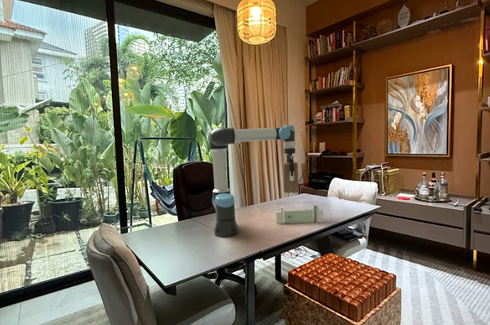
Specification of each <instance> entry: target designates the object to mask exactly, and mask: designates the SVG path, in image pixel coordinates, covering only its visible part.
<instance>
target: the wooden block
mask: <svg viewBox="0 0 490 325" xmlns="http://www.w3.org/2000/svg"><path fill="white" fill-rule="evenodd" d="M289 170H290V165H289V163H287V162H283V163H282V182H283V183H282V184H283V186H282V188H283V192H284V193H285V194H286V193H288V194H289V193H295V194H297V193H298V192H299V163H298V162H296V161H295V162H294V181H290V171H289Z"/></svg>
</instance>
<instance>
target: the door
mask: <svg viewBox="0 0 490 325" xmlns="http://www.w3.org/2000/svg"><path fill="white" fill-rule="evenodd" d="M283 222H284V224H292V223H293V224H294V223H295V224H296V223H314V209H299V210H298V209H297V210H295V209H294V210H293V209H292V210H283Z"/></svg>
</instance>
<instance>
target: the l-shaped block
mask: <svg viewBox="0 0 490 325" xmlns="http://www.w3.org/2000/svg"><path fill="white" fill-rule="evenodd" d="M319 206H320V205H313V223H323V222H324V210H323V209H319ZM279 208H280V210H279V211H278V210H277V211H275V224H276V225H279V224H281V225H282V224H285V223H284V207H283V206H280V207H279Z"/></svg>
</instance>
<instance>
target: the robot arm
mask: <svg viewBox="0 0 490 325" xmlns="http://www.w3.org/2000/svg"><path fill="white" fill-rule="evenodd" d="M295 135H296V131H295V126H294V125H291V124H287V125H283V126H281V127H264V128H243V129H242V128H240V129H235V128H234V127H220V126H219V127H215V128H212V130H210V132H209V133H208V136H207V139H208V144H209V150H210V151H211V153H212V168H213V169H212V170H213V171H212V172H213V181H214V182H213V184H214V185H213V186H214V189H213V190H212V199H211V203H212V205H213V208H214V209H215V216H216V217H215V219H216V221H215V225H214V229H213V234H215V235H214V236H216V237H219V236H220V237H219V238H228V237H229V238H230V237H234V236H237V235H238V234H239V233H240V232H239V230H240V228H239V225H238V223H237V221H236V204H235V202H236V200H235V195H233V194H231V188H228V171H227V170H228V169H227V157H226V151H227V150H228V147H229V146H228V145H235V144H236V143H241V142H242V143H243V142H257V141H258V142H261V141H263V142H264V141H279V140H283V147H284V151H283V152H284V155H286V163H289V165H290V170H289V171H290V181H294V155H293V154H296V144H297V143H296V139H295V138H296V136H295Z"/></svg>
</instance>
